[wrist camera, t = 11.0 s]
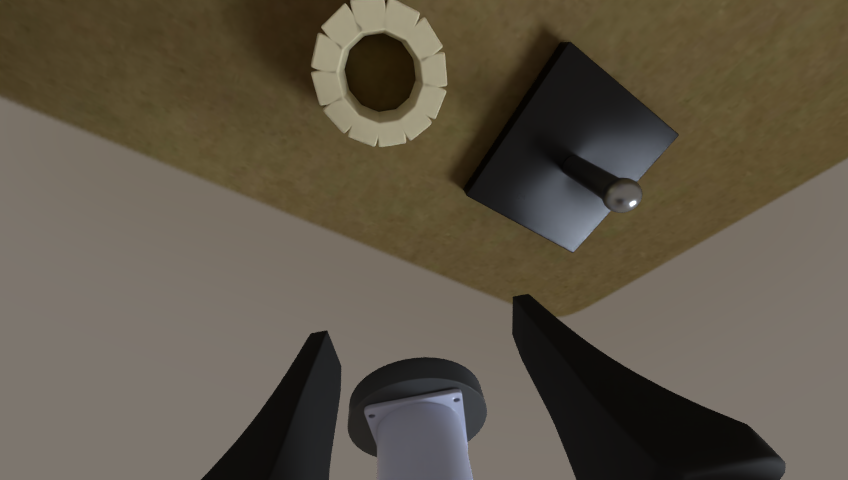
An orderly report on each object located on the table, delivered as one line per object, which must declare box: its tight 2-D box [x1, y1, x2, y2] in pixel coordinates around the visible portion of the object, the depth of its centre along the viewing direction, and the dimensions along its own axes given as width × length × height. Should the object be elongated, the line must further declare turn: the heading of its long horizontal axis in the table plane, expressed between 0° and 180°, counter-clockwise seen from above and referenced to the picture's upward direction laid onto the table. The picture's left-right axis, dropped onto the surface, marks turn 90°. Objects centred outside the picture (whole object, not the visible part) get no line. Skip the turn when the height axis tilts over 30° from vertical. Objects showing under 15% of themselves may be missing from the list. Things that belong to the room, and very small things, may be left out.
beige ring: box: [311, 0, 447, 147], centre depth 15 cm, size 6×6×3 cm
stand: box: [463, 42, 678, 253], centre depth 17 cm, size 9×9×6 cm
